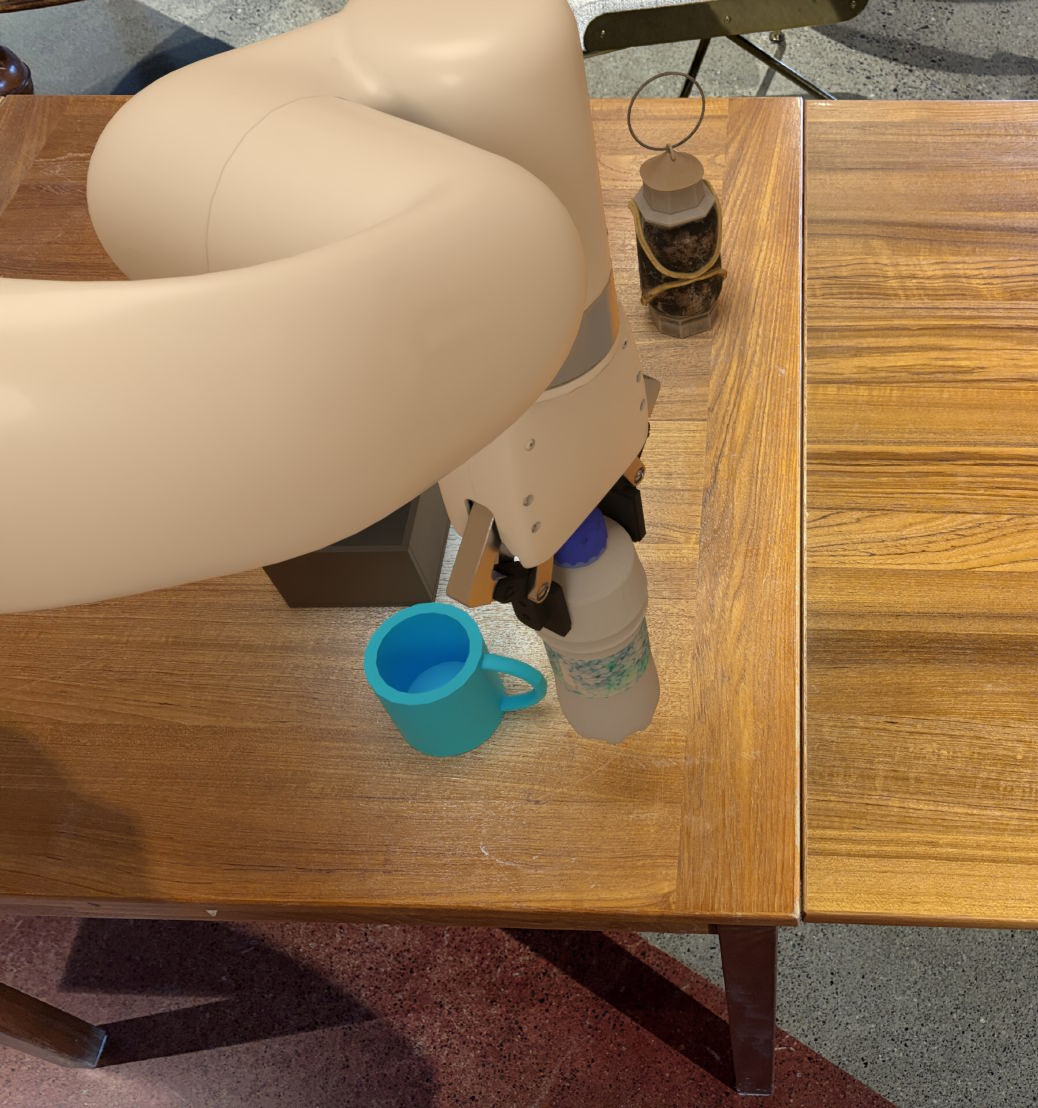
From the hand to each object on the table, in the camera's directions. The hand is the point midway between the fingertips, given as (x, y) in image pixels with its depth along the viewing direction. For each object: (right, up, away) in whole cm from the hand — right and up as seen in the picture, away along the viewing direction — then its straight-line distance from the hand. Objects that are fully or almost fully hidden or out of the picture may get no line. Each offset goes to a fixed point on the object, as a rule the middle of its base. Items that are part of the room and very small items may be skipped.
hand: (582, 572), depth 56 cm
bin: (-22, +2, +33) cm, 39 cm away
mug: (-11, -11, +24) cm, 29 cm away
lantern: (+3, +24, +48) cm, 54 cm away
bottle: (0, -9, +12) cm, 15 cm away
